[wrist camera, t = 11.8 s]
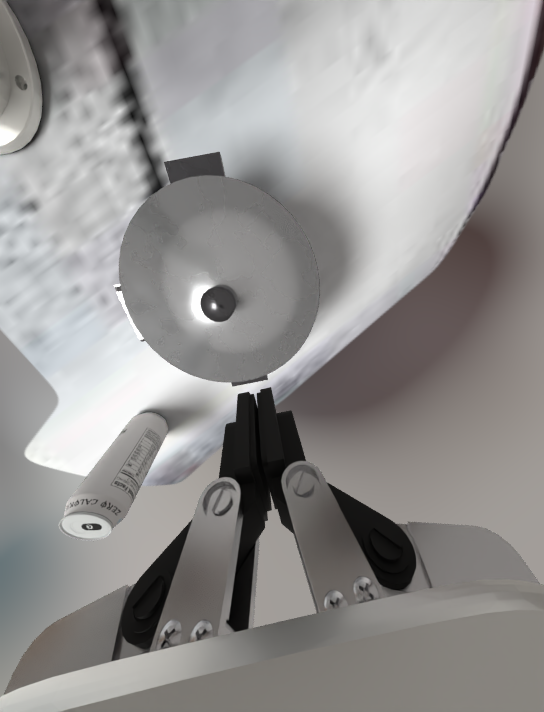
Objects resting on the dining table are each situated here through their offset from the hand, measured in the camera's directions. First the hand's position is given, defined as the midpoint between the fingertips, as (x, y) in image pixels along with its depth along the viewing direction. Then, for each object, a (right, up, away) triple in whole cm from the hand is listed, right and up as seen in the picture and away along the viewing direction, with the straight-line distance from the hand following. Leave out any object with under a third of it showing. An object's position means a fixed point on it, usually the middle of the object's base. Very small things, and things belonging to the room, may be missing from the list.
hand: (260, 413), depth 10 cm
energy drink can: (-20, -8, +24) cm, 33 cm away
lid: (-4, +8, +9) cm, 13 cm away
